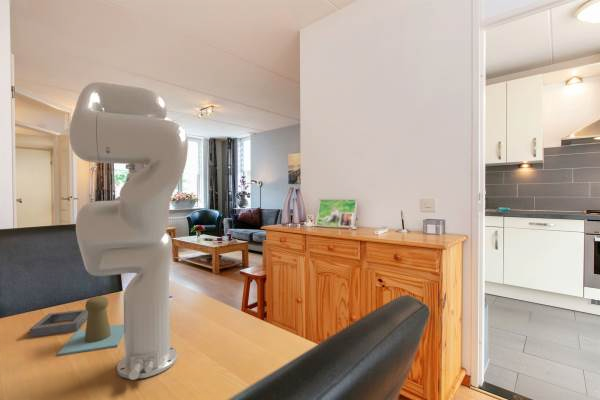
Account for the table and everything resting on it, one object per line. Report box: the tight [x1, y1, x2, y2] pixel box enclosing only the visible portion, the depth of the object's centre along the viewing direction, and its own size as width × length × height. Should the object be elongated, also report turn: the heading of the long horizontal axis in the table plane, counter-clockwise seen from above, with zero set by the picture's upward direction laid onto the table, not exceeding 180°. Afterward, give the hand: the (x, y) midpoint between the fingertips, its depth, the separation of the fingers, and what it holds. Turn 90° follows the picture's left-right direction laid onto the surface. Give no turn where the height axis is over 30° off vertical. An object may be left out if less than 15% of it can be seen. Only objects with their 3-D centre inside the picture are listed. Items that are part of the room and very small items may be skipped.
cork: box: [84, 295, 111, 343], centre depth 81 cm, size 6×6×11 cm
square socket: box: [29, 308, 88, 339], centre depth 89 cm, size 11×11×2 cm
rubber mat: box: [57, 323, 124, 356], centre depth 81 cm, size 13×13×1 cm
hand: (144, 225), depth 90 cm, fingers open, 9 cm apart
